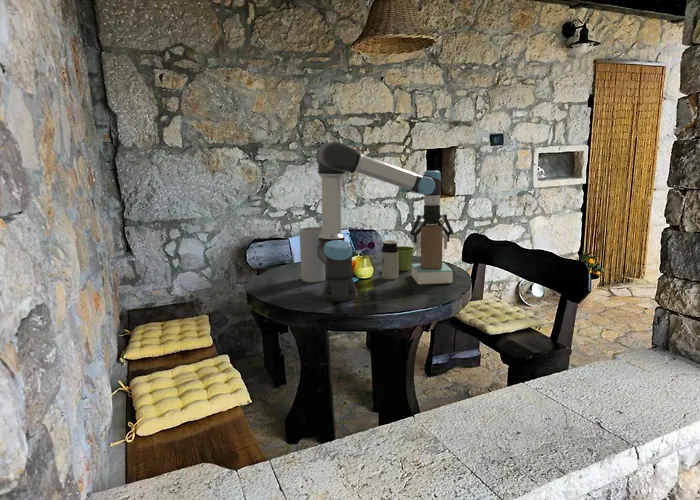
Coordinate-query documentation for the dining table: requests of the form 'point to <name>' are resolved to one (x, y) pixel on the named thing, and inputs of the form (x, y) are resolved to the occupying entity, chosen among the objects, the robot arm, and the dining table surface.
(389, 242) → the travel mug
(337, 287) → the robot arm
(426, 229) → the wooden block
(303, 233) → the cylinder vase
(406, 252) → the plant pot
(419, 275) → the base brick
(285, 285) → the dining table surface
